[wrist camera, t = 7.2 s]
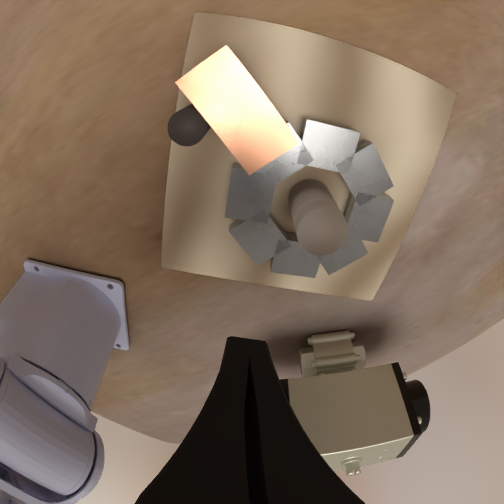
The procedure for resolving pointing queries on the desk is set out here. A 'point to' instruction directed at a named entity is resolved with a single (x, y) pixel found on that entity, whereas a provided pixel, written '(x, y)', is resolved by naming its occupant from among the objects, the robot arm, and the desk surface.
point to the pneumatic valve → (355, 404)
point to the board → (307, 178)
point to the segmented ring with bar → (284, 167)
